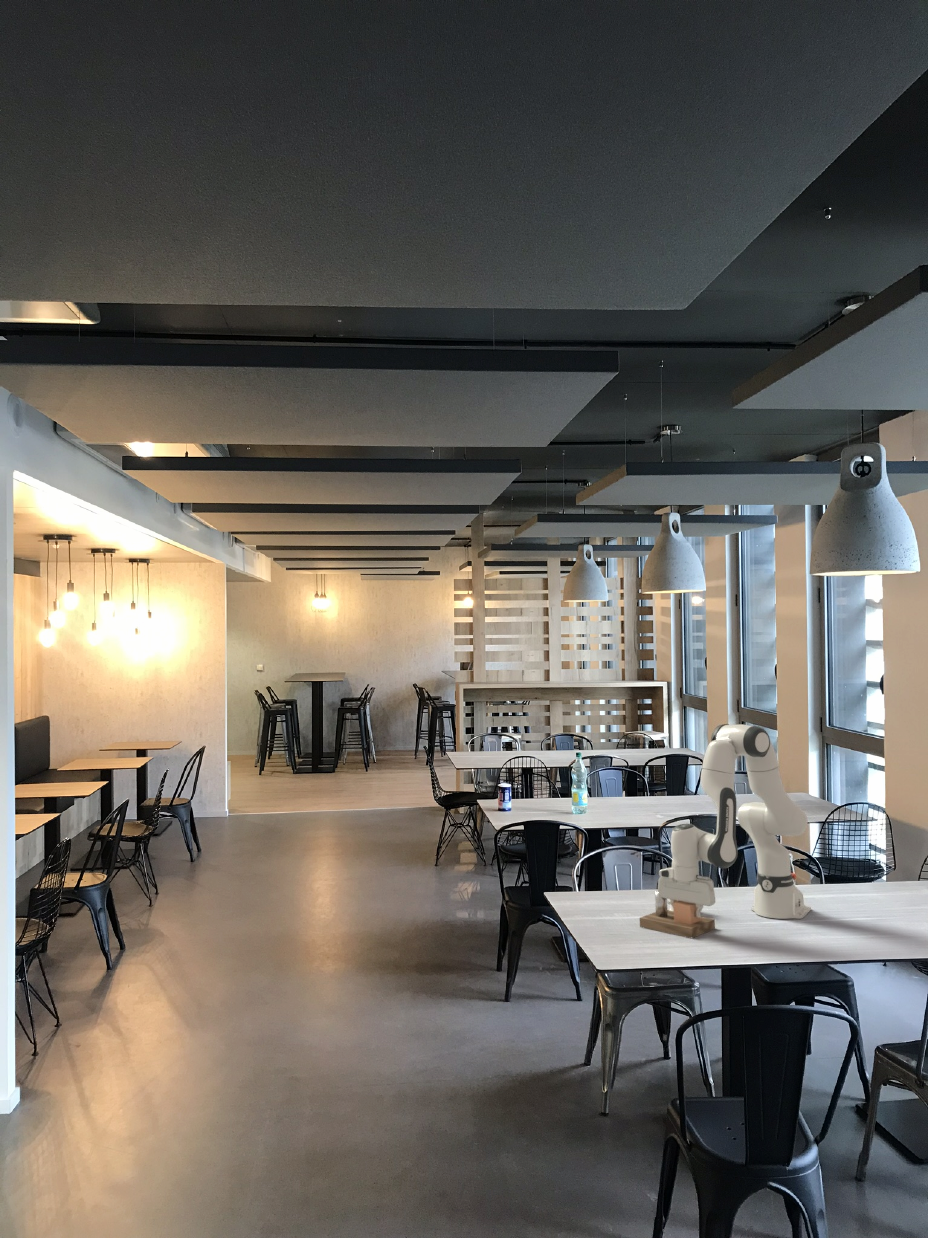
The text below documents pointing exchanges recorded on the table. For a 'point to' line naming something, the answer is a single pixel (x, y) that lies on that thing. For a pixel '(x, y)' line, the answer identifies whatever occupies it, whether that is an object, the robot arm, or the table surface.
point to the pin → (660, 905)
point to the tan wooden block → (685, 912)
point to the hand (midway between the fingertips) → (687, 915)
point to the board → (676, 925)
